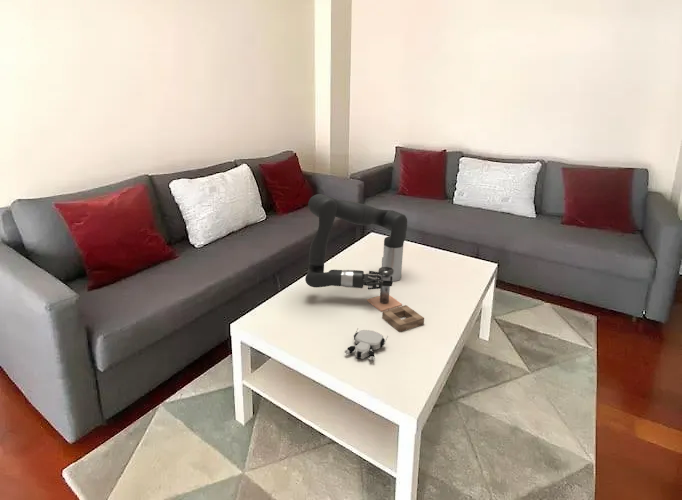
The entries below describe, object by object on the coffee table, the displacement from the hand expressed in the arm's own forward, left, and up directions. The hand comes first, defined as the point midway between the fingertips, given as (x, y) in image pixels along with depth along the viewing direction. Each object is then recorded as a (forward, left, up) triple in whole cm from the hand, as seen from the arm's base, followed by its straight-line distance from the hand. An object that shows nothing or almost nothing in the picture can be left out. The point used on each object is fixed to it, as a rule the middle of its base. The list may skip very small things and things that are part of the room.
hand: (392, 281), depth 197 cm
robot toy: (+24, -28, -11) cm, 39 cm away
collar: (+14, -4, -11) cm, 19 cm away
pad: (-2, -2, -11) cm, 11 cm away
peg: (-2, -2, -10) cm, 10 cm away
